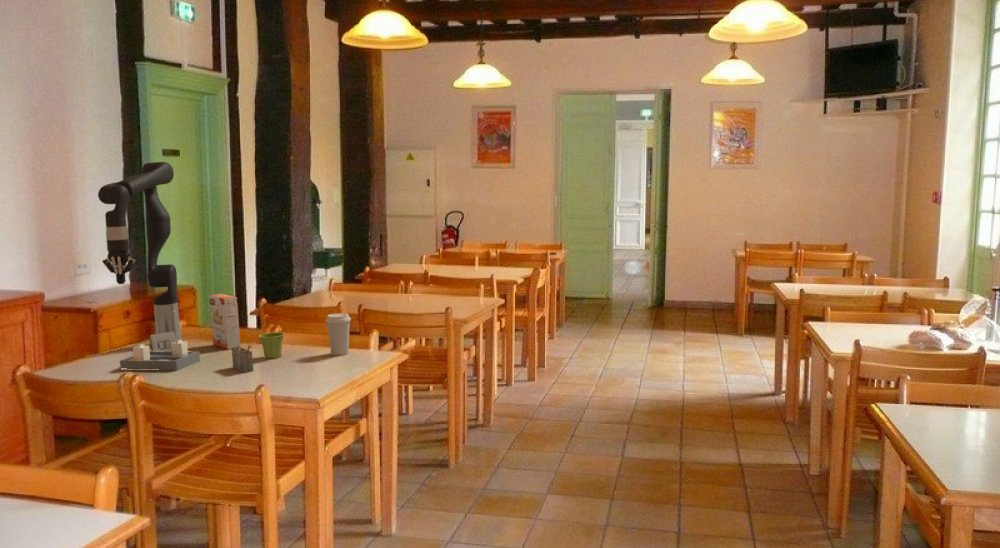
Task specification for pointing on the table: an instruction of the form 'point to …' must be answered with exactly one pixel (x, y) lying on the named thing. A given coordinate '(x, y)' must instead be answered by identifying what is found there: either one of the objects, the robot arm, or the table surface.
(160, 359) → the grey compartment tray
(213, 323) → the cracker box
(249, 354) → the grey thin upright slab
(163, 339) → the electrical switch
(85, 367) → the table surface
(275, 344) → the plant pot
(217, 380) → the table surface
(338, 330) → the coffee cup
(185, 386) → the table surface
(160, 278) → the robot arm
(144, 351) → the tab
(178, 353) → the white block
